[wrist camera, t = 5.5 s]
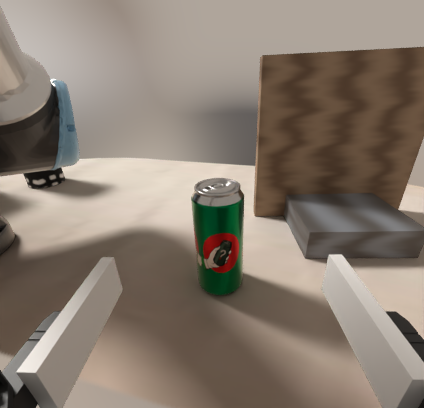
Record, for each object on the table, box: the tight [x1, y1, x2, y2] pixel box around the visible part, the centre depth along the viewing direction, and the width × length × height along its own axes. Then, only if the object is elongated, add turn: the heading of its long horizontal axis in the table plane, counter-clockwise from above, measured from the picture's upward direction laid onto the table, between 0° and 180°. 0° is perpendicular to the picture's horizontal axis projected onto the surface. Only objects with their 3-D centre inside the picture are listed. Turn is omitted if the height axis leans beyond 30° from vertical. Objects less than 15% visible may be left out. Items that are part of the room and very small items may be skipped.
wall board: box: [254, 47, 424, 258], centre depth 30 cm, size 24×14×24 cm, turn 88°
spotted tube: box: [23, 168, 65, 188], centre depth 57 cm, size 8×8×20 cm
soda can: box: [191, 178, 244, 295], centre depth 24 cm, size 5×5×12 cm
